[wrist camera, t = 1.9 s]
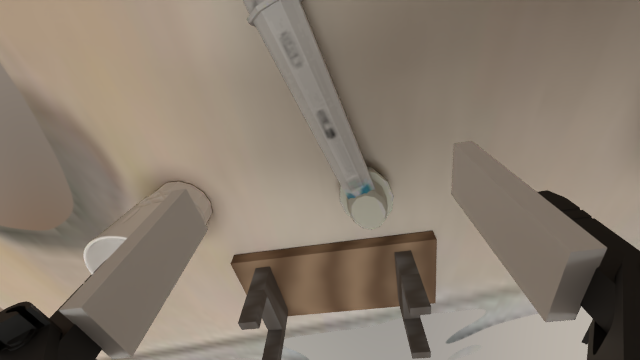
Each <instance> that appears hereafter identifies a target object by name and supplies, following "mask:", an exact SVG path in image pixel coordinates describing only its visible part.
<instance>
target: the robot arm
mask: <svg viewBox="0 0 640 360" xmlns="http://www.w3.org/2000/svg"><path fill="white" fill-rule="evenodd" d="M451 195H452V196H453V197H454V199H455V200H456V201H457V203H458V204H459V205H460V207H461V208H462V209H463V211H464V212H465V214H466V215H467V216H468V218H469V219H470V220H471V222H472V223H473V224H474V226H475V227H476V228H477V230H478V231H479V233H480V234H481V235H482V237H483V238H484V239H485V241H486V242H487V243H488V245H489V246H490V248H491V249H492V250H493V252H494V253H495V254H496V256H497V257H498V258H499V260H500V261H501V262H502V264H503V265H504V267H505V268H506V269H507V271H508V272H509V273H510V275H511V276H512V277H513V279H514V280H515V282H516V283H517V284H518V286H519V287H520V288H521V290H522V291H523V292H524V294H525V295H526V296H527V298H528V299H529V301H530V302H531V303H532V305H533V306H534V307H535V309H536V310H537V311H538V313H539V314H540V315H541V317H542V318H543V320H544V321H545V322H551V321H552V322H553V321H564V320H575V319H576V316H577V314H578V312H579V310H580V308H581V306H582V307H583V308H584V309H585V310H586V312H587V313H588V314H589V315H590V316H591V317H592V318H593V320H592V322H591V324H590V326H589V328H588V331H587V332H586V334H585V336H584V338H583V340H582V343H585V344H588V354H587V360H640V251H639V250H638V249H636V248H635V247H633V246H632V245H631V244H629V243H628V242H626V241H625V240H624V239H622V238H621V237H620V236H618V235H617V234H615V233H614V232H613V231H611V230H610V229H608V228H607V227H606V226H604V225H603V224H601V223H600V222H599V221H597V220H596V219H592V218H591V216H590V215H589V214H588V213H586V212H585V211H583V210H580V208H579V207H578V206H576V205H575V204H574V203H572V202H571V201H569V200H568V199H567V198H565V197H562V196H560V195H557V194H555V193H553V192H550V191H541V192H536V191H535V190H534V189H532V188H531V187H530V186H528V185H527V184H526V183H525V182H523V181H522V180H521V179H520V178H518V177H517V176H516V175H515V174H513V173H512V172H511V171H510V170H508V169H507V168H506V167H504V166H503V165H502V164H501V163H499V162H498V161H497V160H496V159H494V158H493V157H492V156H491V155H489V154H488V153H487V152H486V151H484V150H483V149H482V148H480V147H479V146H478V145H477V144H475V143H474V142H473V141H467V142H461V143H455V144H454V152H453V171H452V190H451ZM207 230H208V229H207V227H206V225H205V223H204V221H203V219H202V217H201V216H200V214H199V212H198V210H197V208H196V206H195V204H194V202H193V200H192V199H191V197H190V195H189V193H188V191H187V189H180V190H174V191H172V192H171V193H170V194H169V195H168V196H167V197H166V198H165V199H164V200H163V201H162V202H161V203H160V204H159V205H158V207H157V208H156V209H155V210H154V211H153V212H152V213H151V214H150V215H149V216H148V217H147V218H146V219H145V220H144V221H143V222H142V223H141V224H140V225H139V226H138V228H137V229H136V230H135V231H134V232H133V233H132V234H131V235H130V236H129V237H128V238H127V239H126V240H125V241H124V242H123V243H122V244H121V245H120V246H119V247H118V248H117V250H116V251H115V252H114V253H113V254H112V255H111V256H110V257H109V258H108V259H107V260H106V261H104V262H103V263H102V264H101V265H100V266H99V267H98V268H97V269H96V270H95V271H94V272H93V275H91V276H90V277H89V278H88V279H87V280H86V281H85V283H84V284H82V285H81V286H80V287H79V288H78V289H77V290H76V291H75V292H74V293H73V294H72V295H71V296H70V298H69V299H68V300H67V301H66V302H65V303H64V304H63V305H62V306H61V307H60V308H59V309H58V310H57V311H56V312H55V313H54V314H53V315H52V316H51V317H50V318H48V317H47V316H46V315H44V314H43V313H42V312H41V311H40V310H39V309H37V308H36V307H35V306H34V305H33V304H32V303H30V302H21V303H18V304H15V305H13V306H11V307H8V308H6V309H5V310H3V311H1V312H0V360H97V359H95V358H96V357H97V356H98V354H99V353H100V351H101V350H103V351H104V352H105V353H106V354H107V355H108V356H110V357H111V358H112V359H117V358H128V357H132V356H133V354H134V353H135V351H136V349H137V348H138V346H139V344H140V343H141V341H142V339H143V338H144V336H145V334H146V333H147V331H148V329H149V328H150V326H151V324H152V323H153V321H154V319H155V318H156V316H157V314H158V313H159V311H160V309H161V308H162V306H163V304H164V302H165V301H166V299H167V297H168V296H169V294H170V292H171V291H172V289H173V287H174V286H175V284H176V282H177V281H178V279H179V277H180V276H181V274H182V272H183V271H184V269H185V267H186V266H187V264H188V262H189V261H190V259H191V257H192V256H193V254H194V252H195V250H196V249H197V247H198V245H199V244H200V242H201V240H202V239H203V237H204V235H205V234H206V232H207Z"/></svg>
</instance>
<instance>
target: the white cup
mask: <svg viewBox="0 0 640 360" xmlns="http://www.w3.org/2000/svg"><path fill="white" fill-rule="evenodd" d="M180 189H187V191H188V193H189V195H190V197H191V199H192V200H193V202H194V204H195V206H196V208H197V210H198V212H199V214H200V216H201V217H202V219H203V221H204V223H205V225H207V223H208V221H209V219H210V217H211V214H212V208H211V202H210V201H209V199H208V198H207V197H206V195H205V194H204V193H203V192H202V191H201V190H199V189H198V188H196V187H195V186H193V185H191V184H187V183H183V182H180V181H177V182H169V183H165V184H164V185H163V186H161V187H160V188H158V189H157V190H156V191H155V192H154V193H152V194H151V195H150V196H147V197H146V198H144V199H143V200H142V201H141V202H139V203H138V204H136V205H135V206H134V207H133V208H131V209H130V210H129V211H128V212H126V213H125V214H124V215H123V216H121V217H120V218H119V219H118V220H117V221H115V222H114V223H113V224H112V225H110V226H109V227H108V228H107V229H105V230H104V231H103V232H102V233H101V234H99V235H98V236H97V237H96V238H94V239H93V240H92V241H91V242H89V243H88V244H87V246H86V247H85V249H84V253H83V258H84V262H85V265H86V267H87V268H88V270H89V271H90V273H91V274H92V275H93V272H94V271H95V270H96V269H97V268H98V267H99V266H100V265H101V264H102V263H103V262H104V261H106V260H107V259H108V258H109V257H110V256H111V255H112V254H113V253H114V252H115V251H116V250H117V248H118V247H119V246H120V245H121V244H122V243H123V242H124V241H125V240H126V239H127V238H128V237H129V236H130V235H131V234H132V233H133V232H134V231H135V230H136V229H137V228H138V226H139V225H140V224H141V223H142V222H143V221H144V220H145V219H146V218H147V217H148V216H149V215H150V214H151V213H152V212H153V211H154V210H155V209H156V208H157V207H158V205H159V204H160V203H161V202H162V201H163V200H164V199H165V198H166V197H167V196H168V195H169V194H170V193H171V192H172V191H174V190H180ZM176 283H177V282H176ZM175 285H176V284H175ZM174 287H175V286H174ZM174 287H173V288H174ZM172 290H173V289H172Z"/></svg>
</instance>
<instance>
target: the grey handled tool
mask: <svg viewBox="0 0 640 360" xmlns="http://www.w3.org/2000/svg"><path fill="white" fill-rule="evenodd" d="M301 1H302V0H243V2H244V4H245V6H246V8H247V10H248V12H249V14H250V15H249V17H248V18H247V21H248V23H249V24H250V25H252V26H255V27H256V28H257V30H258V32H259V33H260V35H261V37H262V39H263V41H264V43H265V45H266V47H267V48H268V50H269V52H270V54H271V56H272V58H273V60H274V62H275V63H276V65H277V67H278V69H279V71H280V73H281V75H282V77H283V78H284V80H285V82H286V84H287V86H288V88H289V90H290V91H291V93H292V95H293V97H294V99H295V101H296V103H297V105H298V106H299V108H300V110H301V112H302V114H303V116H304V118H305V120H306V121H307V123H308V125H309V127H310V129H311V131H312V133H313V134H314V136H315V138H316V140H317V142H318V144H319V146H320V148H321V149H322V151H323V153H324V155H325V157H326V159H327V161H328V163H329V164H330V166H331V168H332V170H333V172H334V174H335V176H336V178H337V179H338V181H339V183H340V202H341V204H342V206H343V208H344V210H345V212H346V214H347V215H348V216H350V217H351V218H352V219H353V221H354V222H355V223H357V224H358V225H359V226H361V227H362V228H365V229H370V230H372V229H375V228H378V227H380V226H381V225H382V223H383V222H384V221H385V220H386V218H387V216H388V215H389V214H390V212H391V211H392V206H393V197H394V196H393V194H392V191H391V189H390V186H389V184H388V182H387V180H386V179H385V178H384V177H383V176H382V175H380V174H379V173H378V172H376V171H375V170H374V169H373V168H370V167H367V166H366V163H365V161H364V158H363V156H362V153H361V151H360V148H359V146H358V143H357V141H356V138H355V136H354V133H353V131H352V128H351V126H350V123H349V121H348V119H347V116H346V114H345V111H344V109H343V106H342V104H341V101H340V99H339V96H338V94H337V91H336V89H335V86H334V84H333V81H332V79H331V76H330V74H329V71H328V69H327V66H326V64H325V61H324V59H323V56H322V54H321V51H320V49H319V46H318V44H317V41H316V39H315V36H314V34H313V31H312V29H311V26H310V24H309V21H308V19H307V16H306V14H305V11H304V9H303V6H302V4H301Z"/></svg>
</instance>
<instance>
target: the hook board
mask: <svg viewBox="0 0 640 360" xmlns="http://www.w3.org/2000/svg"><path fill="white" fill-rule="evenodd" d="M436 248H437V239H436V237H435V235H434V233H433V231H427V232H419V233H411V234H403V235H395V236H387V237H378V238H370V239H362V240H354V241H346V242H338V243H330V244H321V245H313V246H305V247H297V248H289V249H281V250H273V251H264V252H256V253H248V254H240V255H234V257H233V259H232V262H231V265H232V267H233V269H234V271H235V273H236V275H237V277H238V279H239V281H240V283H241V285H242V287H243V289H244V291H245V292H246V294H247V297H246V300H245V303H244V306H243V309H242V312H241V316H240V319H239V322H238V324H239V326H240V327H241V329H242V330H244V329H256V328H259V327H260V323H261V319H263V321H264V323H265V325H266V327H267V329H268V334H267V338H266V343H265V348H264V353H263V358H262V360H281V355H282V349H283V342H284V336H285V329H286V323H287V316H294V315H306V314H317V313H328V312H340V311H351V310H363V309H374V308H385V307H397V306H400V309H401V313H402V317H403V321H404V325H405V329H406V334H407V337H408V341H409V346H410V349H411V354H412V358H430V357H431V352H430V348H429V345H428V342H427V338H426V335H425V332H424V329H423V326H422V322H421V319H420V315H425V314H431V305H430V304H431V303H435V296H436Z"/></svg>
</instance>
